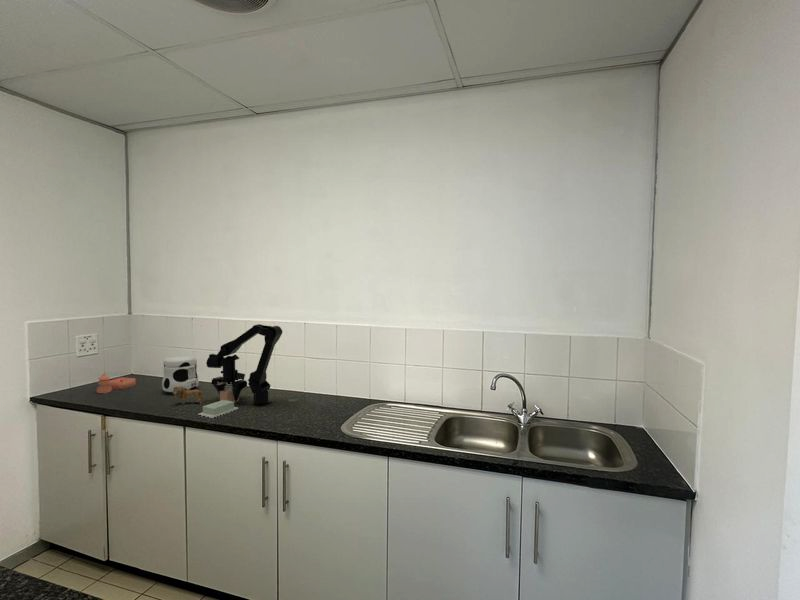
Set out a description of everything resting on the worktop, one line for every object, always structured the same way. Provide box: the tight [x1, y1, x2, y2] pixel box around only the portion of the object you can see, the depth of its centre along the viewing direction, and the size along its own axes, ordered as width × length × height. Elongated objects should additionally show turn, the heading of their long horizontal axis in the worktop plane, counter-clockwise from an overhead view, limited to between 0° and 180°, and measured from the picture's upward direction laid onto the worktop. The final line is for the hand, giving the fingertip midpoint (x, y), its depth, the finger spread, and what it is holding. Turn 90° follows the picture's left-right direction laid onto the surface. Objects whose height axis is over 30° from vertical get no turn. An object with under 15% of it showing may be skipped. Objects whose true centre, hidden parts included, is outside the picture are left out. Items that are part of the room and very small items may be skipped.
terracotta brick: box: [219, 387, 240, 403], centre depth 194 cm, size 5×7×6 cm
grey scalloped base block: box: [198, 400, 239, 419], centre depth 179 cm, size 9×14×4 cm, turn 155°
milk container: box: [161, 355, 199, 394], centre depth 212 cm, size 17×17×18 cm
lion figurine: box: [172, 386, 208, 405], centre depth 191 cm, size 15×5×9 cm, turn 108°
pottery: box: [96, 373, 137, 394], centre depth 215 cm, size 18×10×10 cm, turn 168°
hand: (229, 399), depth 194 cm, fingers open, 9 cm apart
